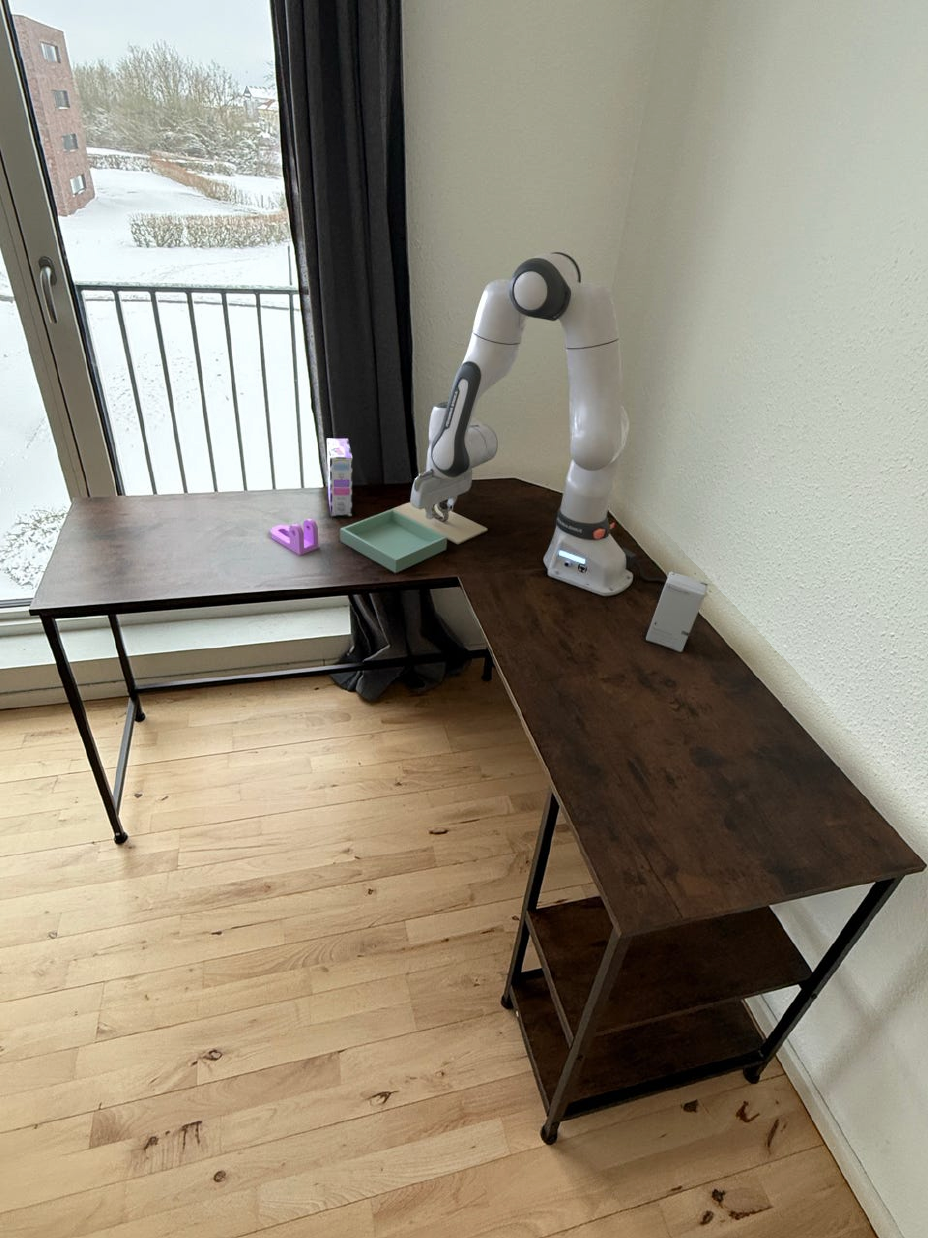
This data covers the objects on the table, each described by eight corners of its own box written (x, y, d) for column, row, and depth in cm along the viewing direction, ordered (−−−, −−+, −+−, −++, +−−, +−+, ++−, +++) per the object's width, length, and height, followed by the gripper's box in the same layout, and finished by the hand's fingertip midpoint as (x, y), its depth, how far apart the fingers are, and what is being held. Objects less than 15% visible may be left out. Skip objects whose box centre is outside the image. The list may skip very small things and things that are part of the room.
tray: (446, 549, 167) (447, 537, 165) (395, 573, 156) (396, 560, 154) (391, 520, 177) (392, 508, 175) (340, 541, 166) (340, 528, 164)
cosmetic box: (644, 640, 143) (663, 582, 135) (650, 626, 148) (668, 569, 140) (683, 653, 141) (705, 594, 133) (688, 638, 146) (709, 581, 137)
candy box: (352, 516, 177) (353, 457, 167) (330, 517, 175) (329, 457, 166) (348, 494, 187) (348, 437, 178) (327, 494, 186) (326, 437, 177)
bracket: (318, 547, 162) (317, 522, 158) (299, 555, 158) (298, 529, 154) (285, 527, 168) (283, 502, 164) (266, 534, 165) (264, 508, 161)
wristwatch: (441, 524, 177) (443, 507, 174) (426, 515, 180) (428, 498, 177) (451, 521, 179) (453, 504, 176) (436, 512, 182) (437, 495, 179)
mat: (487, 530, 178) (487, 528, 178) (457, 544, 170) (458, 542, 170) (422, 498, 190) (422, 497, 189) (391, 510, 182) (392, 508, 182)
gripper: (424, 479, 162) (421, 530, 170) (478, 460, 176) (472, 508, 184) (406, 470, 166) (403, 520, 174) (460, 452, 179) (455, 499, 187)
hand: (439, 514), depth 179 cm, fingers open, 6 cm apart
